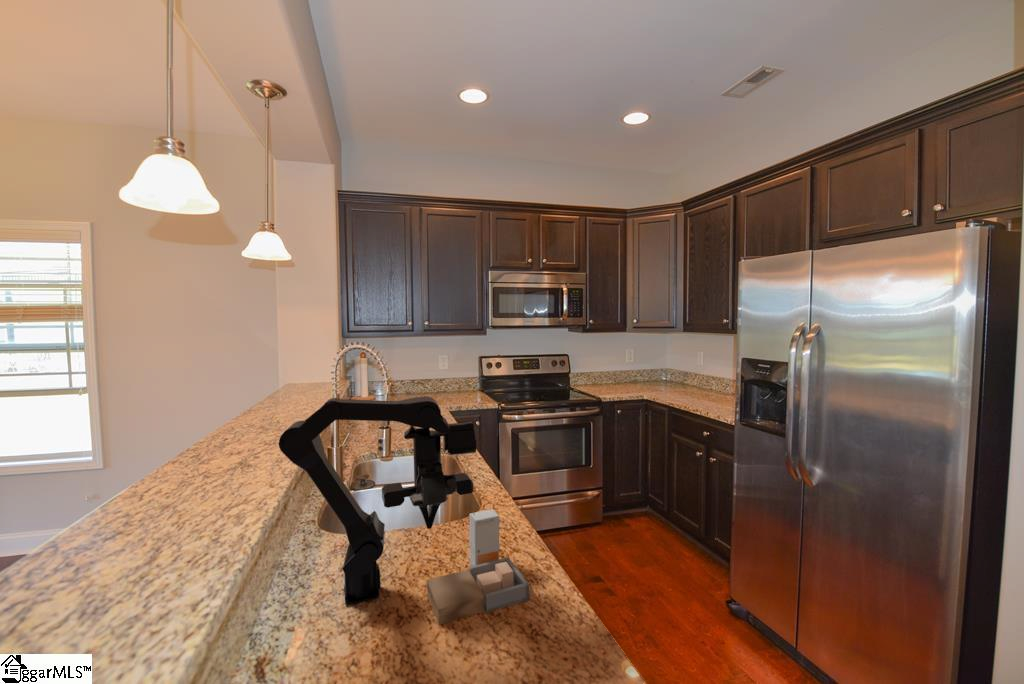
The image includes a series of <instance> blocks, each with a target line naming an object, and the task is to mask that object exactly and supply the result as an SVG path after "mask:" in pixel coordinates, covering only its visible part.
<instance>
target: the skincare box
mask: <svg viewBox="0 0 1024 684" xmlns="http://www.w3.org/2000/svg"><path fill="white" fill-rule="evenodd" d="M468 515H469V516H468V517H469V564H470V565H471V566H475V565H479V564H483V563H487V562H491V561H495V560H499V559H500V515H499V514H498V513H497V512H496V511H495V510H494V508H492V509H488V510H480V511H476V512H471V513H469V514H468Z"/></svg>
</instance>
